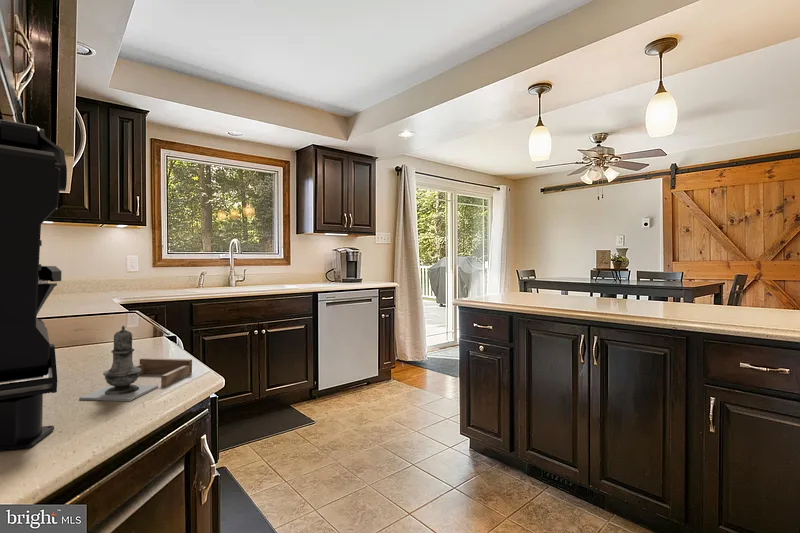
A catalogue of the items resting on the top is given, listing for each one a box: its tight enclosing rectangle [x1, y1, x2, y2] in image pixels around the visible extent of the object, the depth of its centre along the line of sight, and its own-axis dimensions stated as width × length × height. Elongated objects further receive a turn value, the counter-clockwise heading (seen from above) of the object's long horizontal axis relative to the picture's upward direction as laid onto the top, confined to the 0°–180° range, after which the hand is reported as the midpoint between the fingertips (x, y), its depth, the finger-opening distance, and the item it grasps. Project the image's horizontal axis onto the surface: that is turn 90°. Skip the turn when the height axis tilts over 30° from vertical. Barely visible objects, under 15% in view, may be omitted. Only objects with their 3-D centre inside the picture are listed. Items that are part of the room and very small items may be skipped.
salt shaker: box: [102, 325, 141, 395], centre depth 76 cm, size 6×6×12 cm
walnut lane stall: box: [134, 357, 193, 387], centre depth 86 cm, size 10×11×3 cm
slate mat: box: [78, 384, 159, 402], centre depth 76 cm, size 8×9×1 cm
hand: (11, 328), depth 68 cm, fingers open, 9 cm apart
